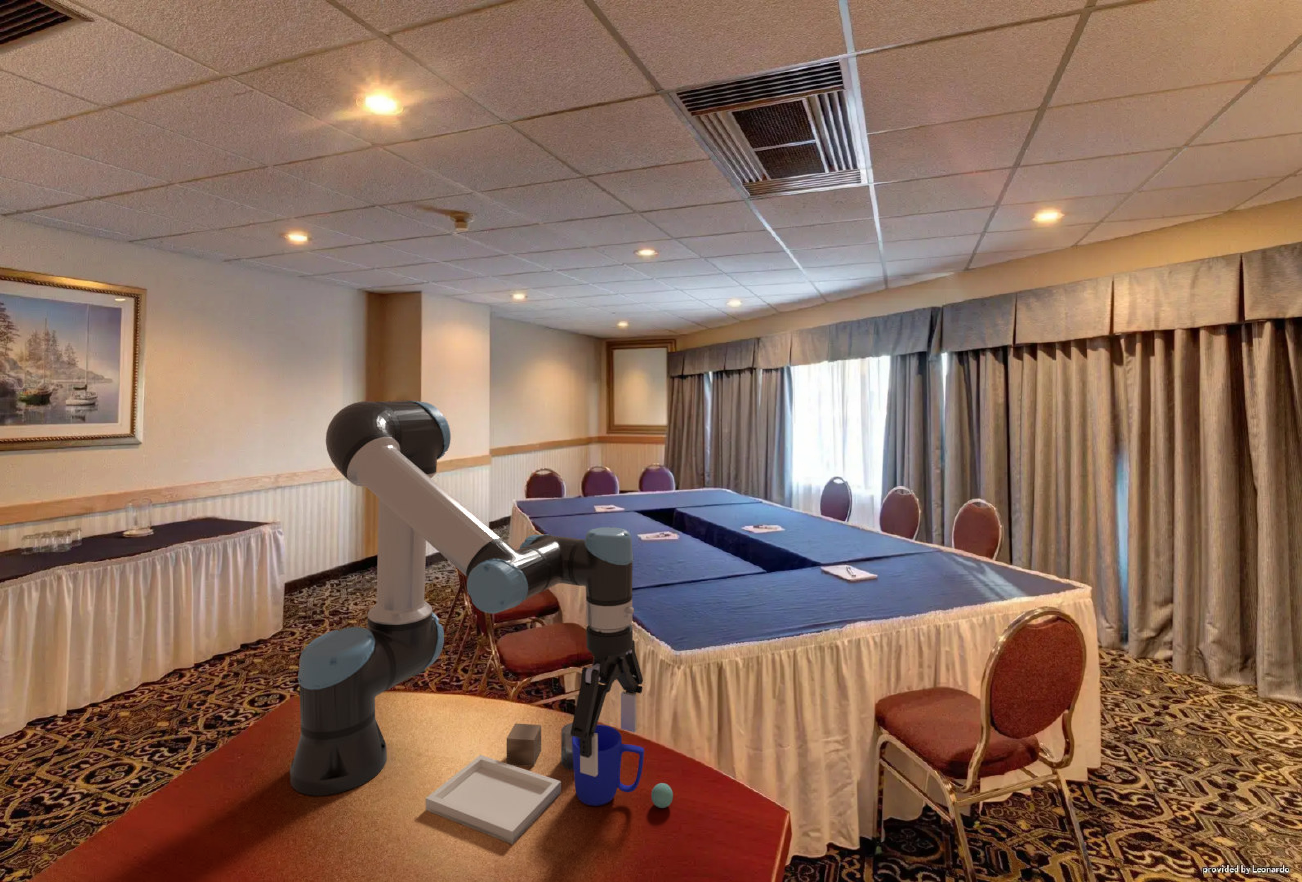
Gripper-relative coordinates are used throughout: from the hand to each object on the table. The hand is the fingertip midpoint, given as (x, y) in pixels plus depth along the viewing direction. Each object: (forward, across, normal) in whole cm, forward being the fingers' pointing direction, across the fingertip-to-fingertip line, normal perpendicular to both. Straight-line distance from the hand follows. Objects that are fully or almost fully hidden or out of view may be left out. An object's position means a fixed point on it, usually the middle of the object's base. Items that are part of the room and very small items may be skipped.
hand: (610, 750), depth 100 cm
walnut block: (+8, +3, +20) cm, 21 cm away
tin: (+8, +6, +10) cm, 14 cm away
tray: (+8, -9, +16) cm, 20 cm away
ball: (+8, +2, -8) cm, 12 cm away
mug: (+8, 0, 0) cm, 8 cm away
